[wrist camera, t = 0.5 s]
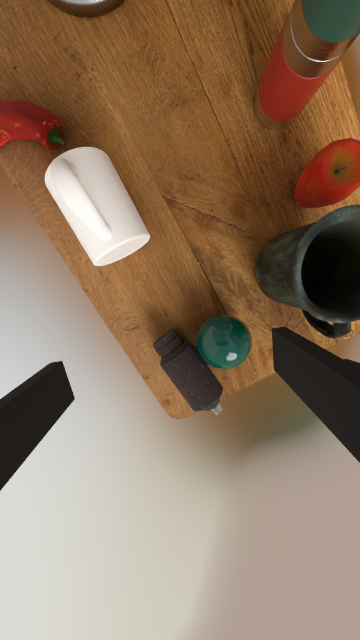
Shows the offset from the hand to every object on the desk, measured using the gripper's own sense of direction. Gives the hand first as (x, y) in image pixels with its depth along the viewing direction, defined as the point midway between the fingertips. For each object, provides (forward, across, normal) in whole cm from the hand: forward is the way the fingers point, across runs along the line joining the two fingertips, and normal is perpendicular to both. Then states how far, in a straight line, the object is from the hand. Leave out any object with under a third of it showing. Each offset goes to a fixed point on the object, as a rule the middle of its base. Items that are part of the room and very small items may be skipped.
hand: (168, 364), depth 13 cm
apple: (+21, +21, +13) cm, 32 cm away
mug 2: (+21, +18, +1) cm, 28 cm away
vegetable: (+19, -10, +24) cm, 32 cm away
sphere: (+21, +6, -6) cm, 22 cm away
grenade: (+19, -3, -4) cm, 20 cm away
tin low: (+21, +18, +24) cm, 37 cm away
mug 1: (+21, -7, +14) cm, 26 cm away
